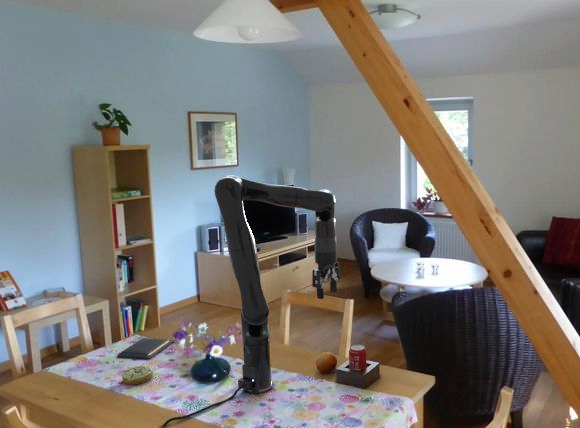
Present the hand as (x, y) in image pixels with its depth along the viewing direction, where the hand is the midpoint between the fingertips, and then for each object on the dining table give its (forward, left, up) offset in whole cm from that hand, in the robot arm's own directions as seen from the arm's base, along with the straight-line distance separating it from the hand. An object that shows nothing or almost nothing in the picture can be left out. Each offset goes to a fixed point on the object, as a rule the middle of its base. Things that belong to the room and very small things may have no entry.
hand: (327, 295), depth 195 cm
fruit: (+11, +8, -33) cm, 36 cm away
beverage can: (+10, -6, -33) cm, 35 cm away
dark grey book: (-5, +87, -33) cm, 93 cm away
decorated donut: (-27, +66, -33) cm, 79 cm away
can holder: (+10, -6, -33) cm, 35 cm away
